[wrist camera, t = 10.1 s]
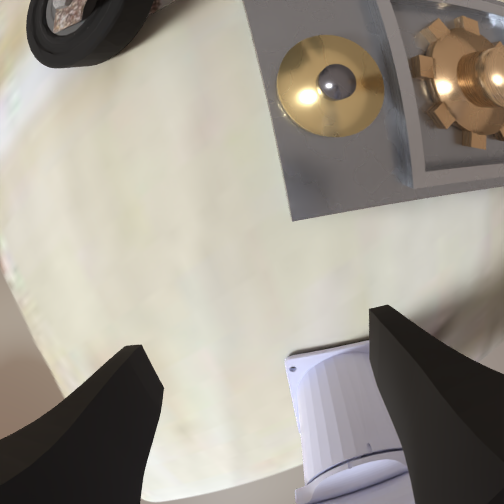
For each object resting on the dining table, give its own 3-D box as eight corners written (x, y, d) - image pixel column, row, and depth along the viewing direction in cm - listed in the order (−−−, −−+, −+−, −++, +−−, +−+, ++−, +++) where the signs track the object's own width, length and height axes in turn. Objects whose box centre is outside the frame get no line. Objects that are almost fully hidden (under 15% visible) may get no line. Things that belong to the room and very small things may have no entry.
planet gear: (511, 155, 14) (558, 167, 10) (413, 138, 14) (459, 145, 10) (505, 40, 11) (549, 32, 7) (404, 5, 11) (442, -23, 7)
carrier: (526, 178, 15) (558, 190, 12) (290, 216, 17) (297, 237, 14) (496, 6, 11) (526, -4, 7) (240, -5, 13) (236, -33, 9)
